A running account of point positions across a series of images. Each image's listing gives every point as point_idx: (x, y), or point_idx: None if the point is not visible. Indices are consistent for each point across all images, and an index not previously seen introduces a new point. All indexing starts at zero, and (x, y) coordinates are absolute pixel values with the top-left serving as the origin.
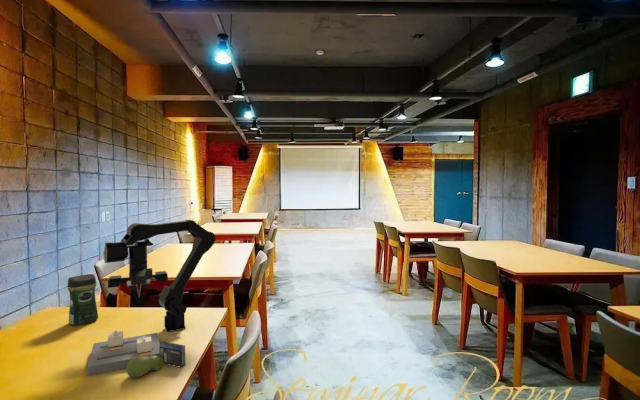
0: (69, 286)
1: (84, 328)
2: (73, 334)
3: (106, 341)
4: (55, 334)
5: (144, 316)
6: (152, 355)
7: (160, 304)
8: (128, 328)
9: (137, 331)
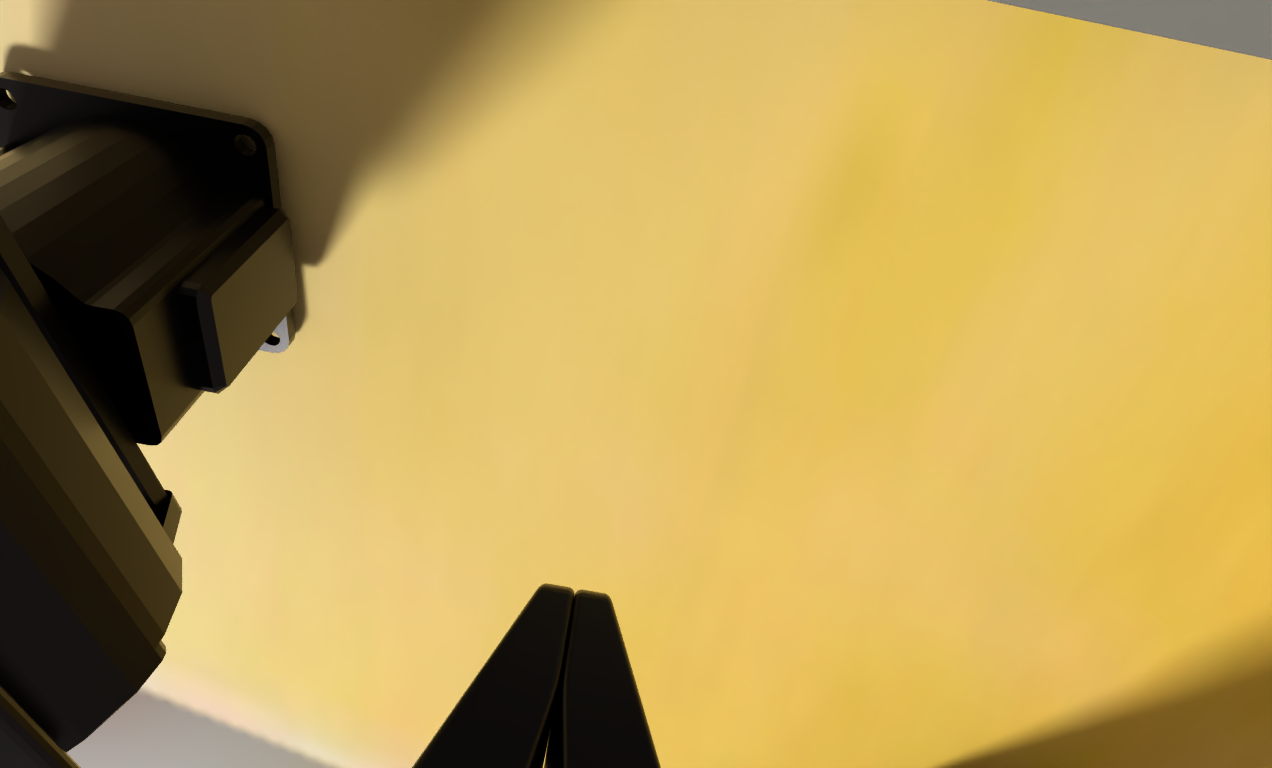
0: None
1: (1023, 722)
2: (1163, 662)
3: (1249, 34)
4: (1262, 733)
5: None
6: None
7: (165, 555)
8: (697, 524)
9: (632, 392)
